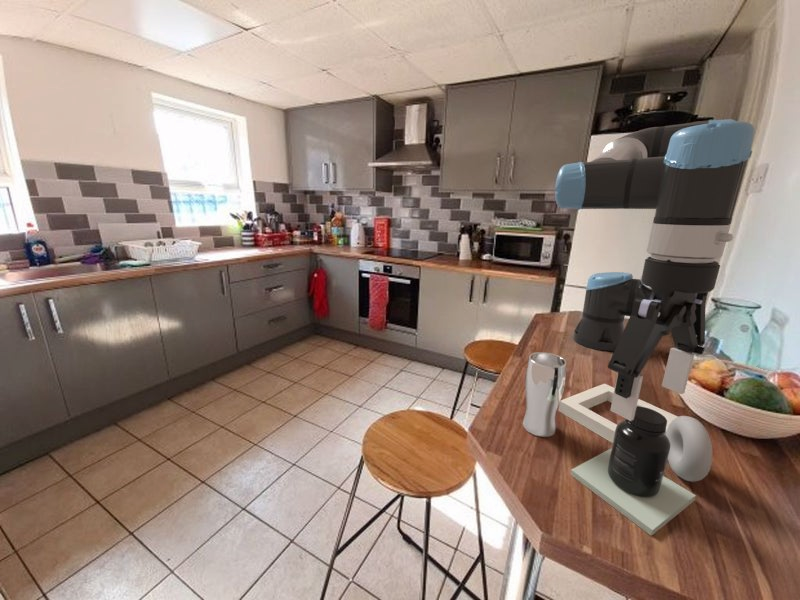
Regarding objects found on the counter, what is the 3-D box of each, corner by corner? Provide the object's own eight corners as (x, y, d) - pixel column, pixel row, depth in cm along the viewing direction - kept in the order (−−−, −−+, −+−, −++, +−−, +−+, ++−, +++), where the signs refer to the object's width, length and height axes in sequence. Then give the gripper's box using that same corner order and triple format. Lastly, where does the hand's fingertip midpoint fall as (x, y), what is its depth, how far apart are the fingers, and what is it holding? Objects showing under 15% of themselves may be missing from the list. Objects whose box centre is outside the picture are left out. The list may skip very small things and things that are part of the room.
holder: (602, 392, 79) (604, 383, 79) (682, 430, 66) (685, 420, 65) (558, 410, 72) (559, 400, 71) (637, 458, 58) (640, 446, 58)
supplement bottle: (669, 503, 48) (688, 432, 45) (617, 495, 49) (632, 426, 46) (645, 468, 55) (660, 404, 52) (600, 462, 56) (611, 399, 53)
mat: (613, 451, 60) (614, 446, 60) (694, 500, 50) (695, 495, 50) (570, 474, 55) (571, 469, 54) (651, 535, 44) (652, 530, 44)
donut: (707, 499, 50) (724, 443, 47) (679, 492, 51) (694, 437, 49) (680, 455, 59) (694, 406, 56) (657, 450, 60) (669, 402, 58)
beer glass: (512, 421, 68) (520, 355, 64) (538, 413, 71) (546, 349, 67) (538, 442, 62) (548, 370, 58) (565, 433, 65) (576, 363, 61)
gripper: (664, 272, 34) (626, 445, 40) (760, 254, 45) (720, 391, 51) (593, 261, 40) (570, 412, 46) (693, 248, 51) (664, 370, 57)
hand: (648, 401), depth 49 cm, fingers open, 13 cm apart
